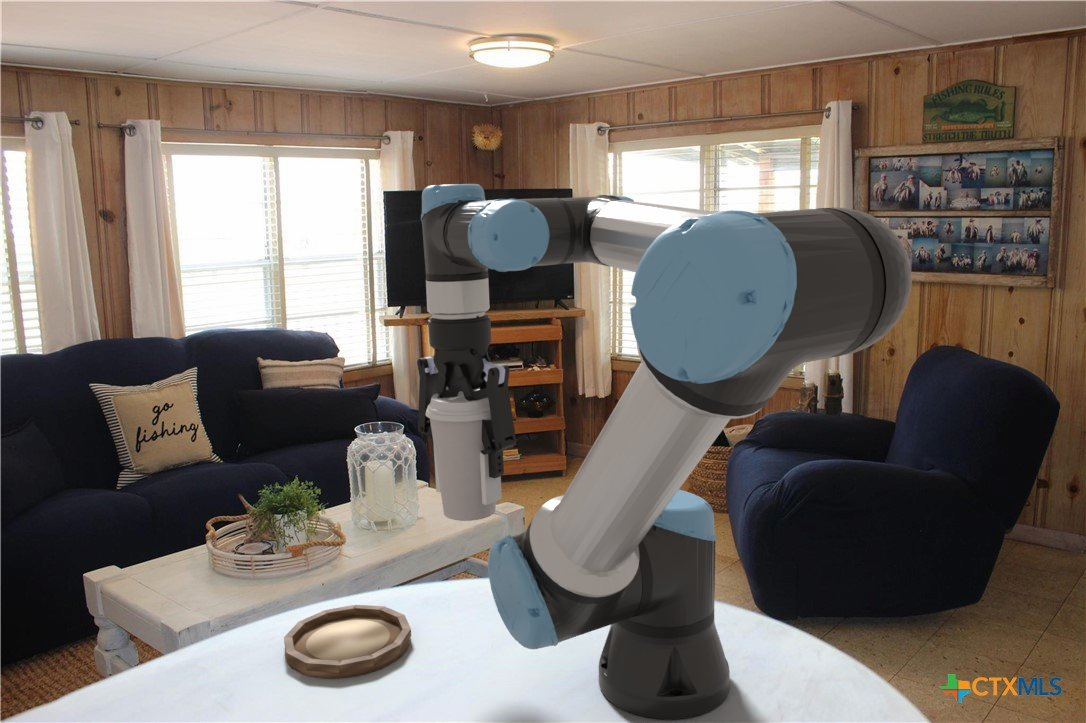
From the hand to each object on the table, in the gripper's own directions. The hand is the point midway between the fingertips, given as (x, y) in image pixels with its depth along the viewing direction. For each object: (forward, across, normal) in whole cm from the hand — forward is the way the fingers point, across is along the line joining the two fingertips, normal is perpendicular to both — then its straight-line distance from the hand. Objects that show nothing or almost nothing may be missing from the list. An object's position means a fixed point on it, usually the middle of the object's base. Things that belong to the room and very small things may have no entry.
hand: (468, 495), depth 112 cm
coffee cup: (+2, 0, 0) cm, 2 cm away
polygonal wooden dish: (+20, +12, +11) cm, 26 cm away
